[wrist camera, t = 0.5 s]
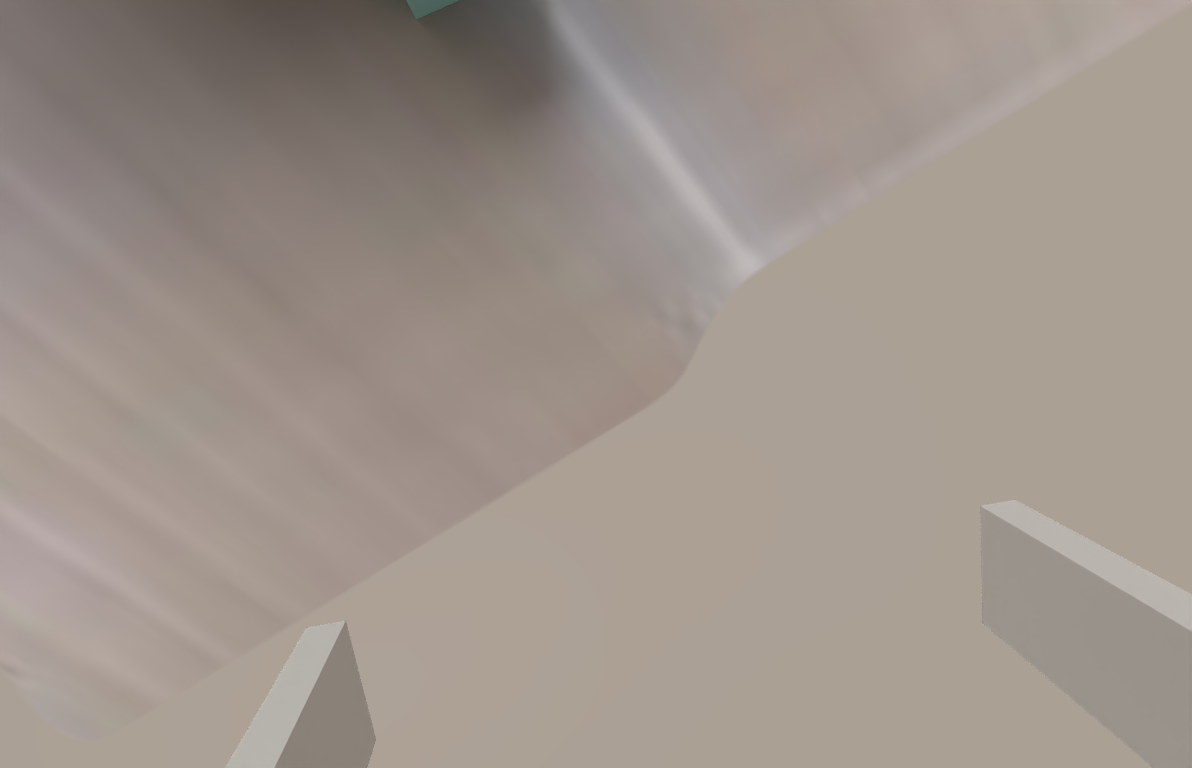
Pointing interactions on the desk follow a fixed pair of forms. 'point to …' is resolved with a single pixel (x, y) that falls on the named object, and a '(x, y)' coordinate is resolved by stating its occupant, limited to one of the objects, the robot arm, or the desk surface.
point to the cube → (427, 6)
